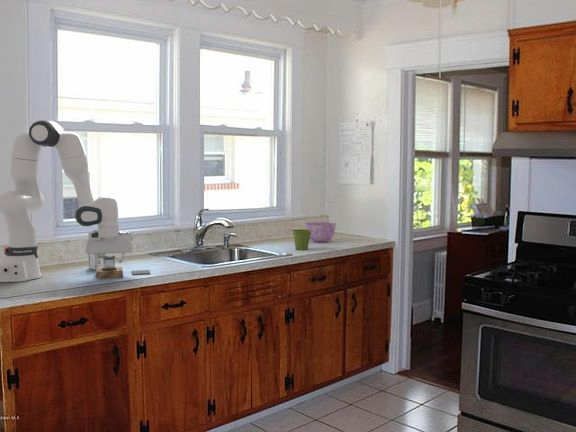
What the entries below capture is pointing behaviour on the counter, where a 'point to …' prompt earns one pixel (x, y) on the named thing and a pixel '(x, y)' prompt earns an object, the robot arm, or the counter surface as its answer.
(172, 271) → the counter surface
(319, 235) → the purple rounded bowl
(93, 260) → the syrup box
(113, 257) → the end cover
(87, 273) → the counter surface
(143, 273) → the mat
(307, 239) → the plant pot
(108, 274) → the brown flat square block
